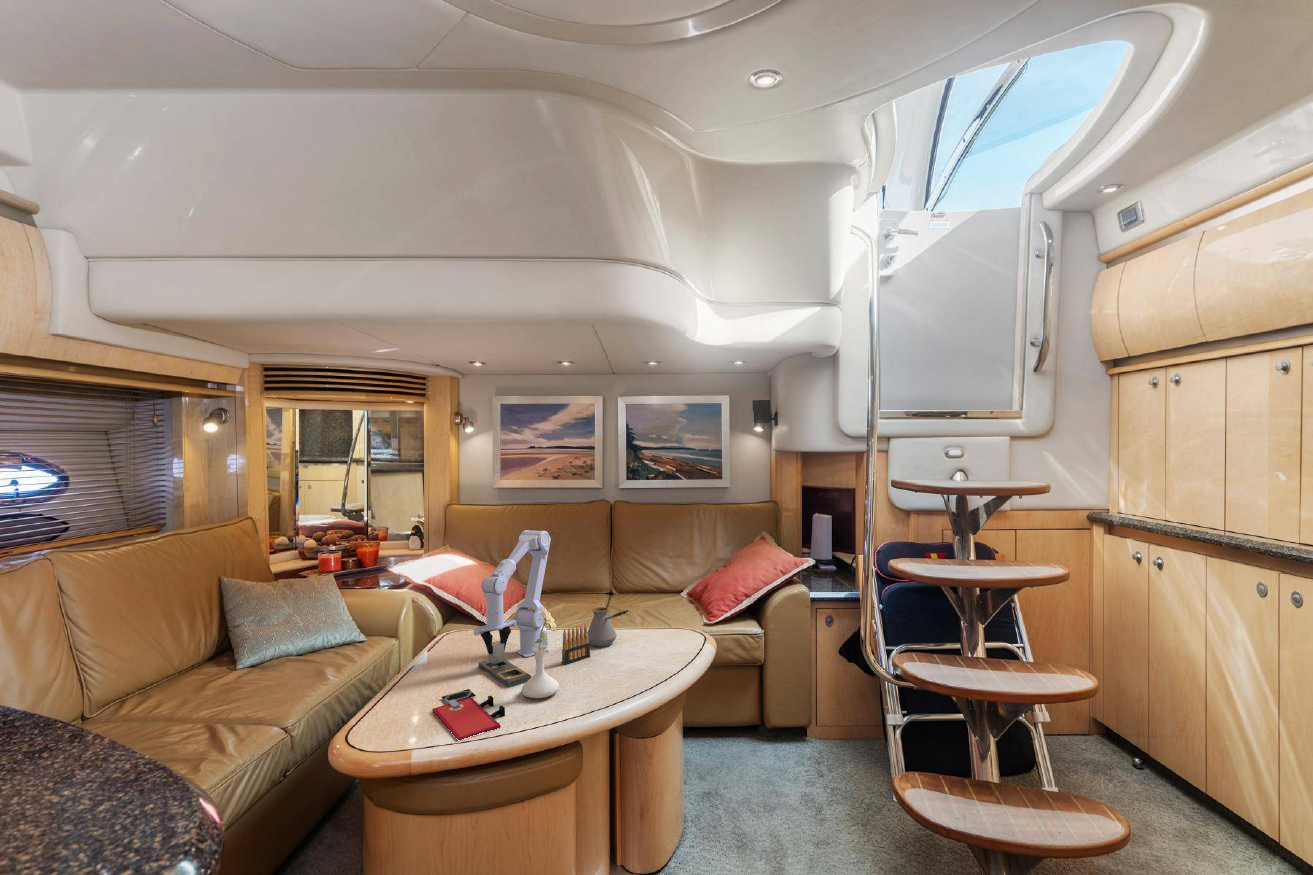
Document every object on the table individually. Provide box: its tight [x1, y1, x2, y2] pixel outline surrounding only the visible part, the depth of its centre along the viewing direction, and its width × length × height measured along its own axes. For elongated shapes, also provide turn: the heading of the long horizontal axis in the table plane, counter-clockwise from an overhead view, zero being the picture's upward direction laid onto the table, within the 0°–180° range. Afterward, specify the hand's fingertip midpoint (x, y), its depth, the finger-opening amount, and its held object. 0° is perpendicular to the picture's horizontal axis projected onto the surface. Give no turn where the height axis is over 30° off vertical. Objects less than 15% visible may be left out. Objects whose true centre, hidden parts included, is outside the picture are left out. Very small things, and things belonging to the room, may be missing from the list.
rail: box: [477, 659, 533, 689], centre depth 199 cm, size 8×24×2 cm, turn 38°
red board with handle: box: [431, 688, 506, 741], centre depth 170 cm, size 30×3×15 cm
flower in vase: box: [521, 607, 561, 699], centre depth 182 cm, size 13×11×25 cm
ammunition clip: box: [561, 622, 591, 666], centre depth 209 cm, size 11×2×12 cm, turn 133°
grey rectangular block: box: [487, 640, 506, 664], centre depth 203 cm, size 4×4×6 cm
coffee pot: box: [587, 606, 632, 648], centre depth 223 cm, size 21×12×15 cm, turn 47°
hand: (496, 651), depth 203 cm, fingers closed on grey rectangular block, 4 cm apart
